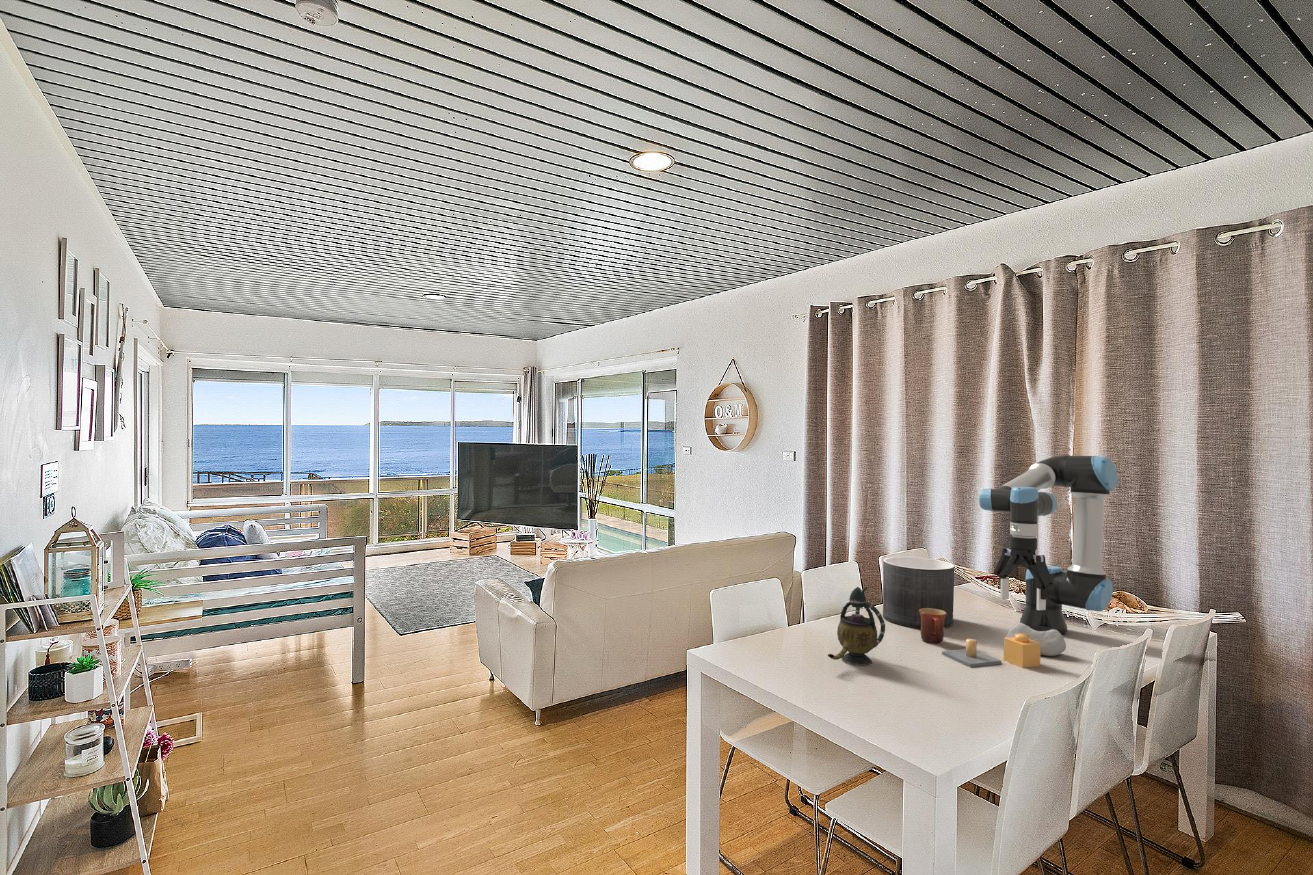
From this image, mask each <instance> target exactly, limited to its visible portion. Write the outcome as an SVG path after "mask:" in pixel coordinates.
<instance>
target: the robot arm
mask: <svg viewBox="0 0 1313 875" xmlns="http://www.w3.org/2000/svg"><path fill="white" fill-rule="evenodd" d="M1117 484H1118V472H1117V468H1116V466H1115V464H1114V462H1113V460H1111V459H1110V458H1109V457H1107V456H1098V455H1065V454H1061V455H1054V456H1052V457H1048V458H1045V459H1043V460H1040V461H1038V462H1036V463H1033V464H1032V465H1031V466H1029V467H1028V470H1027V471H1025V472H1023V473H1022V474H1020V475H1017V477H1015V478H1014V479H1011V480H1009V481H1007V482H1006V483H1005V484H1002V485H1001V486H999V487H997V488H983V489H982V490H981V491H980V493H979V494H978V504H979V507H980V508H981V510H984V511H988V512H989V511H990V512H998V513H1005V514H1006V513H1008V514H1009V513H1010V514H1009V516H1010V519H1009V534H1010V535H1011V536H1009V548H1008V547H1007V548H1002V551H1001V552H1002V553H1001V556H1000V558H999V560H998V563H997V564H996V567H995V568H994V572H993V575H995V576H998V580H999V581H998V586H999V588H1000V590H999V591H1000V593H999V594H1000V595H999V596H1000V597H999V598H1000V600H1009V599H1010V578H1009V577H1008V576H1010V574H1011V573H1012V572H1013V571H1015V569H1016V567H1017V566H1018V567H1019V566H1021V567H1023V568H1026V572H1025V606H1024V608H1023V611H1022V613H1021V614H1022V615H1021V617H1019V618H1020V619H1019V623H1023V624H1025V625H1027V626H1028V627H1030V628H1031V629H1033V630H1036V631H1049V630H1052V629H1053V630H1057V631H1059V632H1060V634H1061V635H1062V636H1063V635H1066V634H1067V633H1068V624H1066V620H1065V615H1064V613H1063V606H1068V607H1072V608H1077V609H1082V610H1086V611H1091V612H1092V611H1093V612H1102V611H1105V610H1106V609H1107V607H1108V606H1109V605H1110V602H1111V600H1112V598H1113V592H1114V583H1113V581H1112V580H1111V579H1109V578H1107V572H1106V571H1105V570H1104V569H1103V568H1102V564H1103V563H1102V558H1103V537H1104V536H1103V535H1104V534H1103V533H1104V514H1105V513H1104V509H1105V508H1104V507H1105V500H1106V499H1107V498H1108V497H1110V492H1111V491H1114V490H1116V488H1117V486H1118V485H1117ZM1051 487H1058V488H1059V487H1061V488H1062V487H1063V488H1070V490H1069V491H1070V492H1069V493H1070V494H1071V495H1072V496H1073V497H1074V513H1073V514H1074V518H1073V538H1072V539H1073V541H1072V542H1073V543H1072V560H1071V561H1072V564H1071V565H1070V566H1069V567H1067V568H1066V572H1064V569H1063V567H1061V566H1054V565H1053V566H1052V565H1047V562H1046V556H1045V554H1036V551H1037V550H1038V538H1037V537H1038V521H1039V517H1045V516H1048V515H1051V514H1053V513H1054V512H1056V510H1057V507H1058V501H1057V499H1056V497H1055V496H1054V495H1053V494H1052V493H1050V492H1047V491H1046V492H1045V491H1040V490H1042V489H1043V490H1044V489H1049V488H1051Z"/></svg>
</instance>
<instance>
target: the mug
mask: <svg viewBox="0 0 1313 875" xmlns="http://www.w3.org/2000/svg"><path fill="white" fill-rule="evenodd" d="M919 613H920V616H921V628H920V638H921V640H922V641H923V642H925V643H927V644H933V645H934V644H935V645H939V644H942V643H943V642H944V638H945V628H944V620H945V617H946V612H945V611H942V610H938V609H932V608H922V609H919Z"/></svg>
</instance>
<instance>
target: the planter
mask: <svg viewBox="0 0 1313 875" xmlns="http://www.w3.org/2000/svg"><path fill="white" fill-rule="evenodd" d="M882 564H883V565H882V566H883V567H882V570H883V571H882V582H883V583H882V618H883V619H885V620H886V621H887V622H891V623H892V624H896V625H899V626H902V627H903V626H904V627H909V628H915V629H921V616H920V613H919V609H922V608H932V609H938V610H942V611H945V612H946V617H945V620H944V629H947V628H950V627H952V626H953V624H954V603H955V602H954V597H955V565H954V563H950V562H947V561H945V560H939V559H934V558H927V557H917V556H892V557H886V558H884V559H883V560H882Z"/></svg>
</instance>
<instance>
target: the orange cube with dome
mask: <svg viewBox="0 0 1313 875" xmlns="http://www.w3.org/2000/svg"><path fill="white" fill-rule="evenodd" d="M1040 647H1041V643H1039V642H1036V641H1033V640H1030V636H1029V635H1026V634H1015V637H1010V638H1005V637H1003V661H1004V662H1008V663H1010V664H1012V665H1015V666H1017V667H1020V668H1023V669H1024V668H1025V669H1026V668H1032V667H1040V666H1041V655H1040Z"/></svg>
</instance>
